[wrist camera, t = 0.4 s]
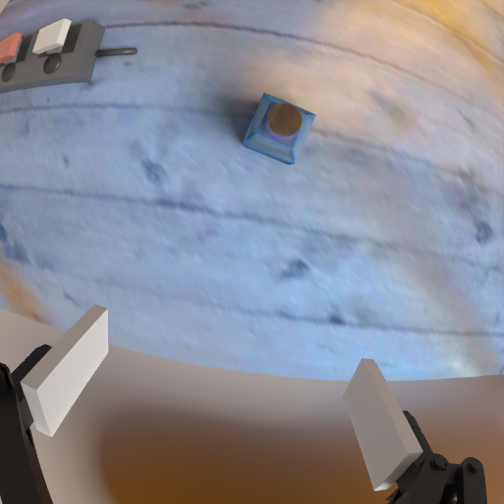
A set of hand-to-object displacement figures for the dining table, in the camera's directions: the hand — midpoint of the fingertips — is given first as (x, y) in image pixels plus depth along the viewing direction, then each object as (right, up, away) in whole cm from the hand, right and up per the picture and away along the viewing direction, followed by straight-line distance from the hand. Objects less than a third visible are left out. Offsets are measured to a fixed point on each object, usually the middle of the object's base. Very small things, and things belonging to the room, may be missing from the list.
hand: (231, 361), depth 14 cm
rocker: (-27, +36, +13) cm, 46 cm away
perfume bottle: (+4, +21, +23) cm, 31 cm away
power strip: (-34, +37, +19) cm, 53 cm away
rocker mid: (-37, +37, +12) cm, 54 cm away
